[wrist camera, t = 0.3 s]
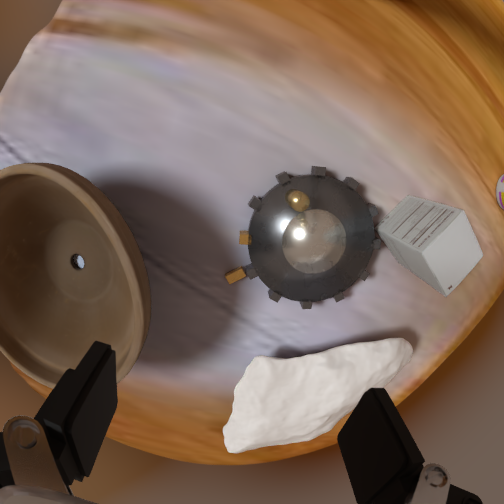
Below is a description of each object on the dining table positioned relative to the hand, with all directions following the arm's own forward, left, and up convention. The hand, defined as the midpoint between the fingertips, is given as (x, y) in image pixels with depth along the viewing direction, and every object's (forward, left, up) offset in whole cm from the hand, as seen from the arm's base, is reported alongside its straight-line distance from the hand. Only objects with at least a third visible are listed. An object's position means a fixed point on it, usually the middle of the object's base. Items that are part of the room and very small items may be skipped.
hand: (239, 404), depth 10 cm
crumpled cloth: (+3, +27, -30) cm, 40 cm away
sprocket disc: (-7, +5, -29) cm, 31 cm away
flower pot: (+23, -7, -30) cm, 38 cm away
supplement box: (-20, +11, -30) cm, 37 cm away
